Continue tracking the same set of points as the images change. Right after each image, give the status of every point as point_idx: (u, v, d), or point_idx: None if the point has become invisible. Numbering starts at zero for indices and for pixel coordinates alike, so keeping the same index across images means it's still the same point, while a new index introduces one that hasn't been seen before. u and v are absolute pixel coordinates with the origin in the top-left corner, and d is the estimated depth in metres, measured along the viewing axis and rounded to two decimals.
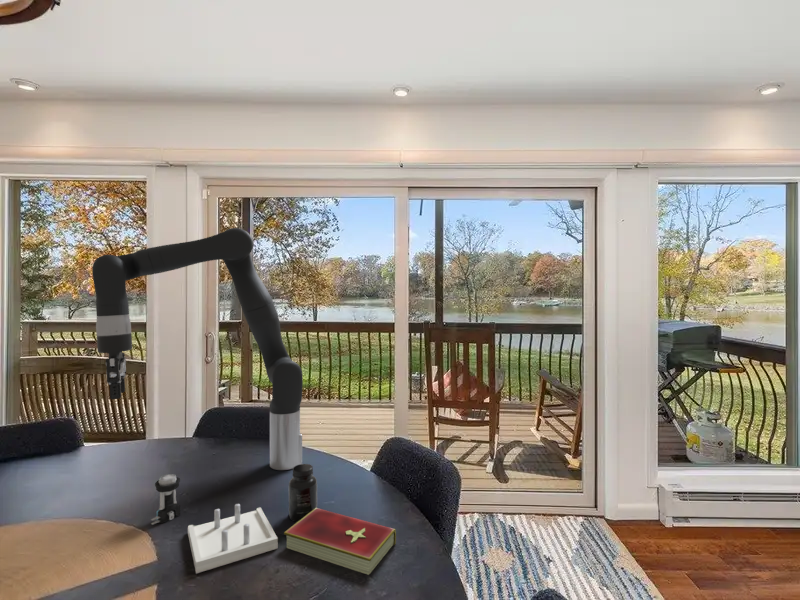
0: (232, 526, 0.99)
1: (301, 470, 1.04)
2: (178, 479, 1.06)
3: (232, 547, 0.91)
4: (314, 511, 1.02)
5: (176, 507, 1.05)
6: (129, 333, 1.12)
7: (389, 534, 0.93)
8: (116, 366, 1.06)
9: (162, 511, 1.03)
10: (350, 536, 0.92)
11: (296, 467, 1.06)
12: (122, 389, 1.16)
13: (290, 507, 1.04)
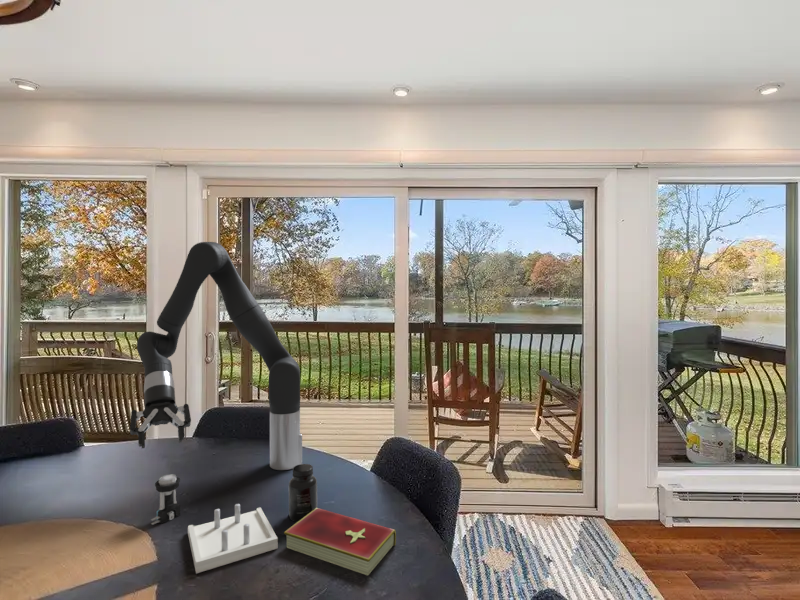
0: (232, 526, 0.99)
1: (301, 470, 1.04)
2: (178, 479, 1.06)
3: (232, 547, 0.91)
4: (314, 511, 1.02)
5: (176, 507, 1.05)
6: (154, 385, 1.20)
7: (389, 535, 0.93)
8: (131, 418, 1.14)
9: (162, 511, 1.03)
10: (350, 536, 0.92)
11: (296, 467, 1.06)
12: (178, 437, 1.16)
13: (290, 507, 1.04)
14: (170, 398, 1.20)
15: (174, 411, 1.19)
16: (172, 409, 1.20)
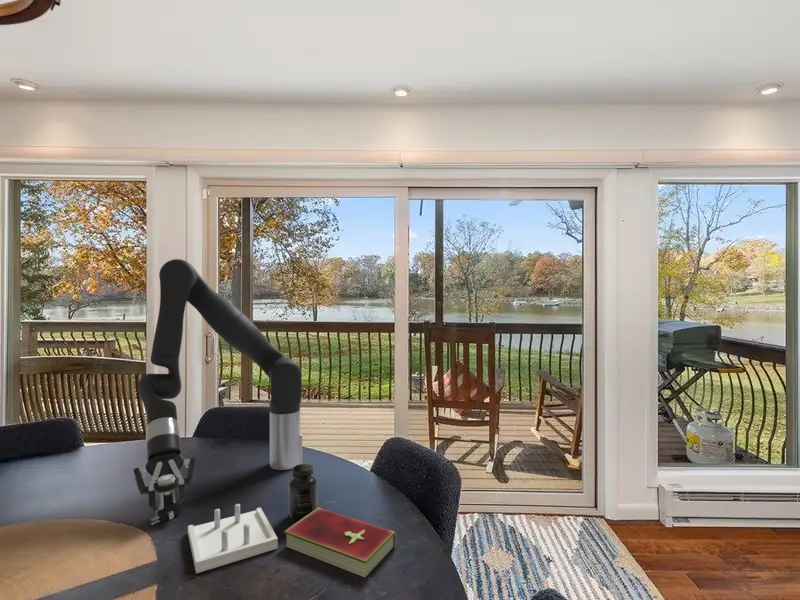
0: (232, 526, 0.99)
1: (301, 470, 1.04)
2: (177, 479, 1.05)
3: (232, 547, 0.91)
4: (316, 511, 1.02)
5: (176, 506, 1.05)
6: (158, 435, 1.09)
7: (388, 537, 0.92)
8: (135, 477, 1.03)
9: (161, 511, 1.03)
10: (349, 537, 0.92)
11: (296, 467, 1.06)
12: (178, 498, 1.04)
13: (290, 507, 1.04)
14: (175, 449, 1.09)
15: (180, 463, 1.09)
16: (177, 461, 1.09)
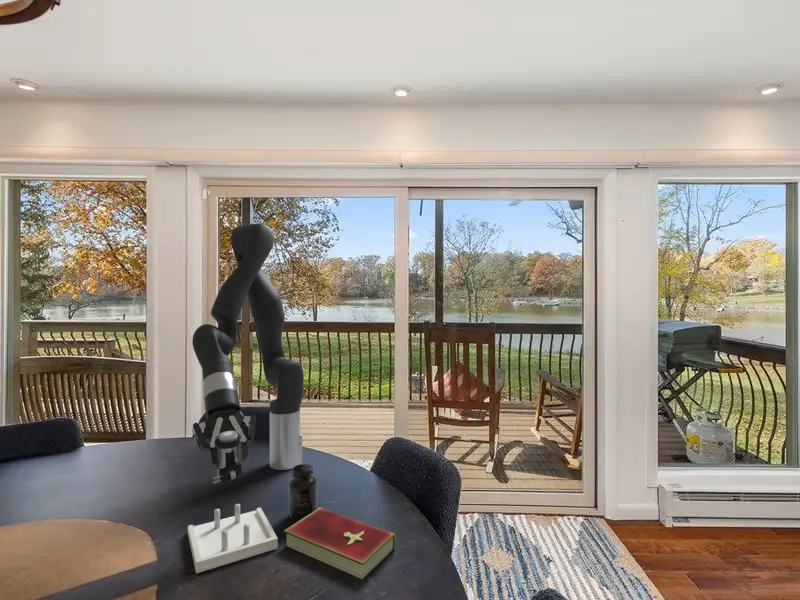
0: (232, 526, 0.99)
1: (301, 470, 1.04)
2: (239, 436, 0.97)
3: (232, 547, 0.91)
4: (317, 511, 1.02)
5: (237, 466, 0.96)
6: (216, 389, 1.01)
7: (387, 539, 0.91)
8: (195, 432, 0.95)
9: (223, 469, 0.94)
10: (348, 538, 0.91)
11: (296, 467, 1.06)
12: (241, 456, 0.95)
13: (290, 507, 1.04)
14: (235, 404, 1.01)
15: (240, 420, 1.00)
16: (237, 417, 1.00)
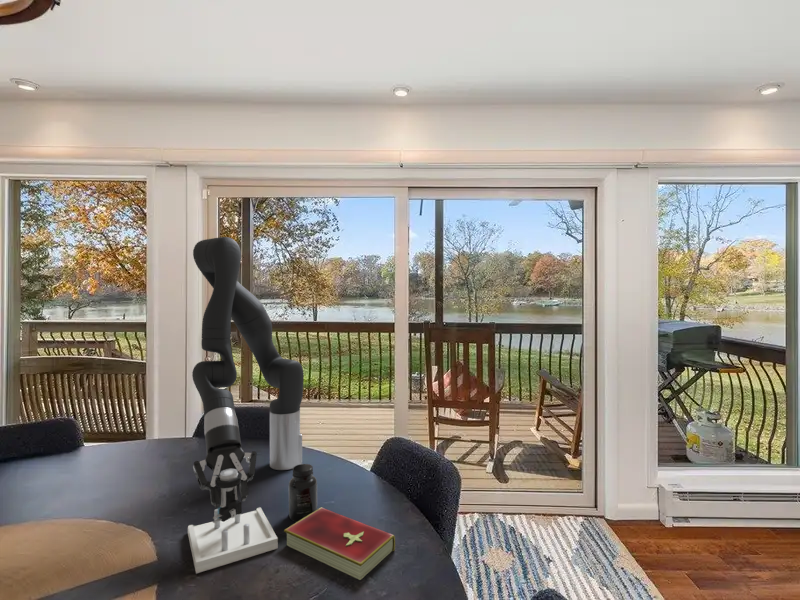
0: (232, 526, 0.99)
1: (301, 470, 1.04)
2: (239, 474, 0.97)
3: (232, 547, 0.91)
4: (318, 510, 1.02)
5: (238, 504, 0.97)
6: (217, 426, 1.01)
7: (386, 540, 0.91)
8: (196, 471, 0.95)
9: (224, 509, 0.94)
10: (347, 539, 0.91)
11: (296, 467, 1.06)
12: (242, 495, 0.95)
13: (290, 507, 1.04)
14: (236, 441, 1.01)
15: (241, 457, 1.00)
16: (238, 454, 1.01)
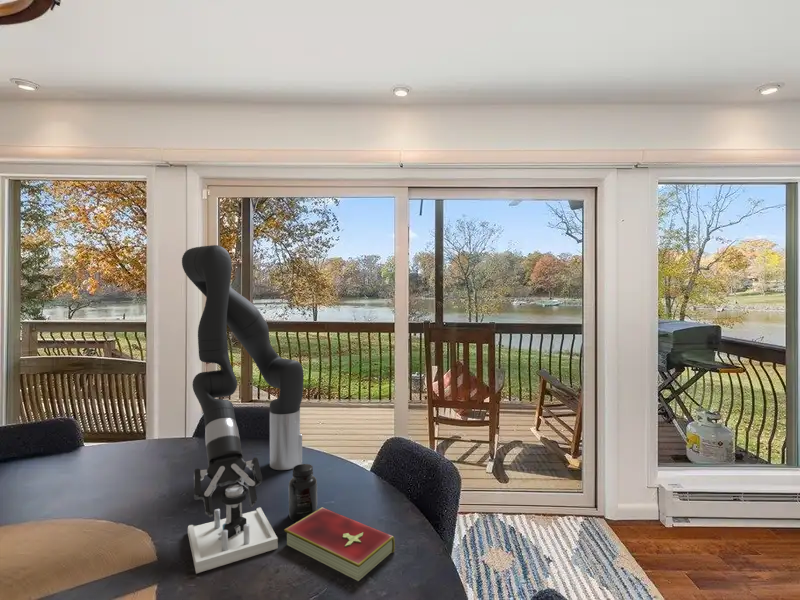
0: None
1: (301, 470, 1.04)
2: (245, 490, 0.98)
3: (232, 547, 0.91)
4: (319, 510, 1.02)
5: (242, 521, 0.97)
6: (218, 437, 1.01)
7: (386, 541, 0.90)
8: (194, 479, 0.95)
9: (229, 525, 0.95)
10: (346, 539, 0.91)
11: (296, 467, 1.06)
12: (250, 501, 0.97)
13: (290, 507, 1.04)
14: (237, 452, 1.01)
15: (242, 468, 1.01)
16: (240, 465, 1.01)
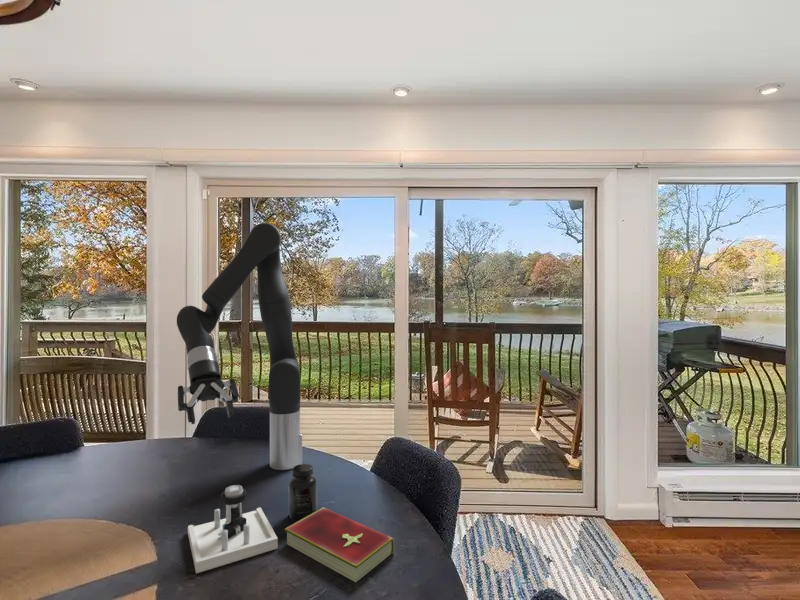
0: None
1: (301, 470, 1.04)
2: (244, 490, 0.98)
3: (232, 547, 0.91)
4: (320, 510, 1.02)
5: (242, 521, 0.97)
6: (199, 360, 1.15)
7: (385, 543, 0.90)
8: (178, 393, 1.09)
9: (229, 525, 0.95)
10: (345, 540, 0.91)
11: (296, 467, 1.06)
12: (228, 412, 1.11)
13: (290, 507, 1.04)
14: (216, 373, 1.15)
15: (221, 386, 1.14)
16: (219, 384, 1.14)
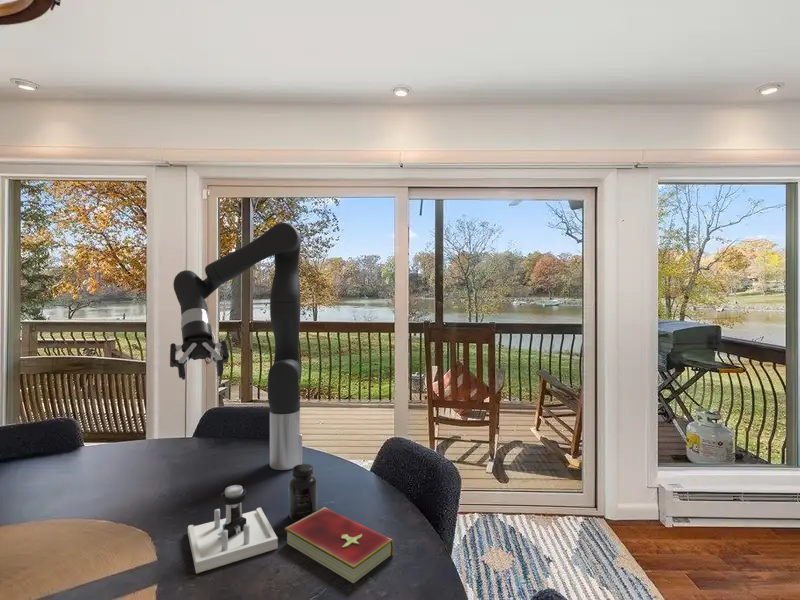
0: None
1: (301, 470, 1.04)
2: (244, 490, 0.98)
3: (232, 547, 0.91)
4: (321, 510, 1.02)
5: (242, 521, 0.97)
6: (192, 321, 1.19)
7: (384, 544, 0.89)
8: (170, 350, 1.13)
9: (229, 525, 0.95)
10: (344, 540, 0.90)
11: (296, 467, 1.06)
12: (218, 370, 1.15)
13: (290, 507, 1.04)
14: (208, 334, 1.19)
15: (212, 347, 1.19)
16: (210, 345, 1.19)
